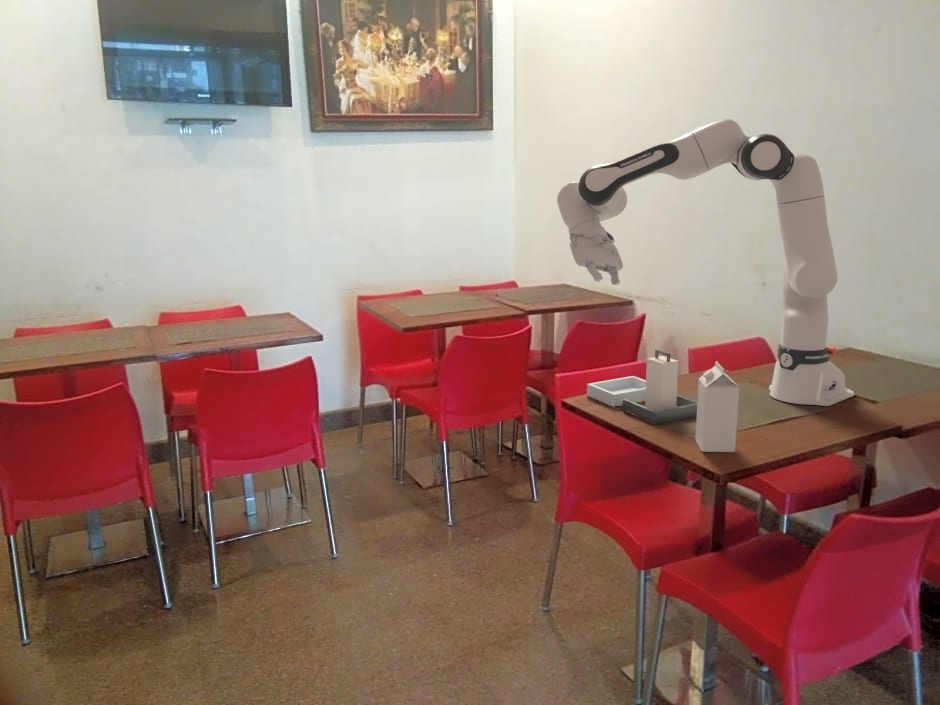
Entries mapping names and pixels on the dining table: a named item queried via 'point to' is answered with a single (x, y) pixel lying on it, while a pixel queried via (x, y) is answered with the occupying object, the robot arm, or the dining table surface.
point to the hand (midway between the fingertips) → (608, 282)
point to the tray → (618, 390)
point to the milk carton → (717, 411)
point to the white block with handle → (661, 382)
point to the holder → (657, 417)
